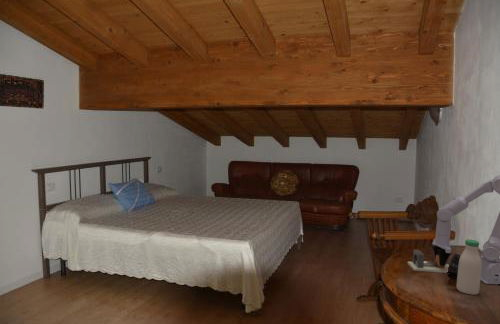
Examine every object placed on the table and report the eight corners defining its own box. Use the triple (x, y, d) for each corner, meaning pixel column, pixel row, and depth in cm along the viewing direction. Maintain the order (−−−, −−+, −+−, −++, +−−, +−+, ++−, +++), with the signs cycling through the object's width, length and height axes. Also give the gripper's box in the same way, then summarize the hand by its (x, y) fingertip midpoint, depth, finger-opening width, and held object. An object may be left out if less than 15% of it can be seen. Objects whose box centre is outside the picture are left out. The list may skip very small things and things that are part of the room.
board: (456, 273, 167) (456, 271, 167) (414, 270, 168) (414, 268, 168) (447, 266, 176) (447, 264, 176) (407, 263, 177) (407, 261, 177)
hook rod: (442, 265, 173) (443, 254, 173) (446, 268, 170) (447, 257, 169) (414, 263, 174) (415, 252, 174) (417, 266, 171) (418, 255, 170)
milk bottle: (482, 296, 144) (487, 244, 143) (460, 293, 146) (464, 242, 144) (474, 288, 152) (479, 239, 150) (453, 285, 153) (458, 237, 152)
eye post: (423, 268, 169) (424, 254, 168) (417, 267, 169) (418, 254, 169) (417, 262, 176) (418, 249, 175) (412, 262, 176) (413, 249, 175)
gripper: (427, 229, 178) (425, 257, 179) (440, 238, 163) (437, 268, 165) (443, 230, 177) (440, 258, 179) (457, 239, 163) (454, 270, 164)
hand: (440, 263), depth 172 cm, fingers closed on hook rod, 4 cm apart
